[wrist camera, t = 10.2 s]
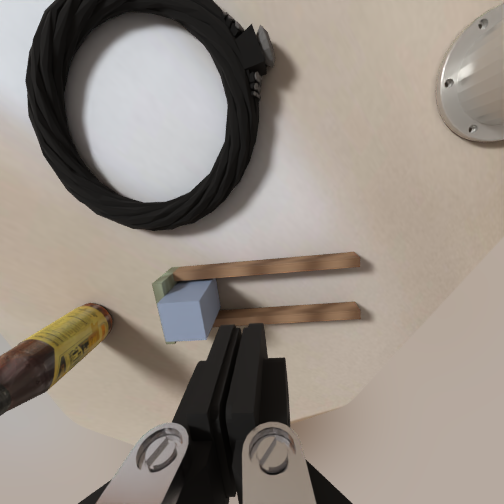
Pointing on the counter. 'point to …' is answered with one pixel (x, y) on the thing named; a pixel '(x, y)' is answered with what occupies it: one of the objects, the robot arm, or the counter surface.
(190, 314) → the block
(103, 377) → the counter surface
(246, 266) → the track
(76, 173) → the cable lock
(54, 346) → the sauce bottle
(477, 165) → the counter surface
